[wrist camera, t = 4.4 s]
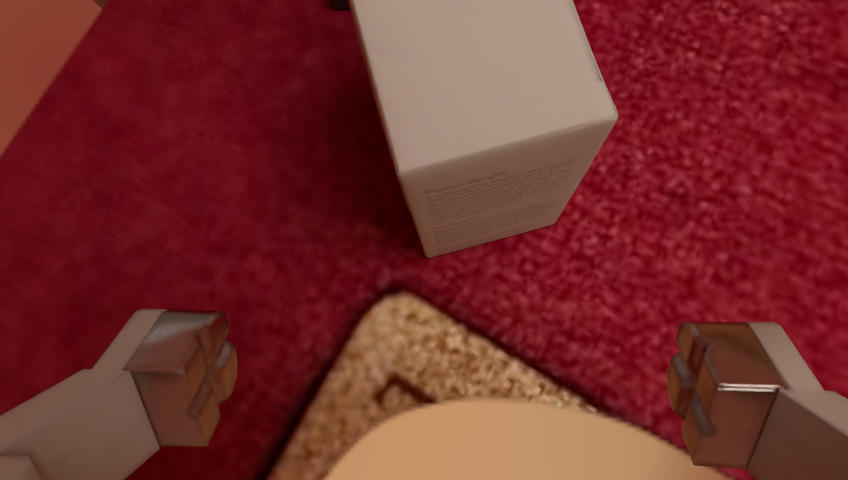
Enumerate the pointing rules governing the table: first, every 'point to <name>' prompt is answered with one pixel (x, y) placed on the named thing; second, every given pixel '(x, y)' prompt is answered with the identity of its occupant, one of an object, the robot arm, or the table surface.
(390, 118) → the small box
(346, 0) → the stand
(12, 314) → the table surface
